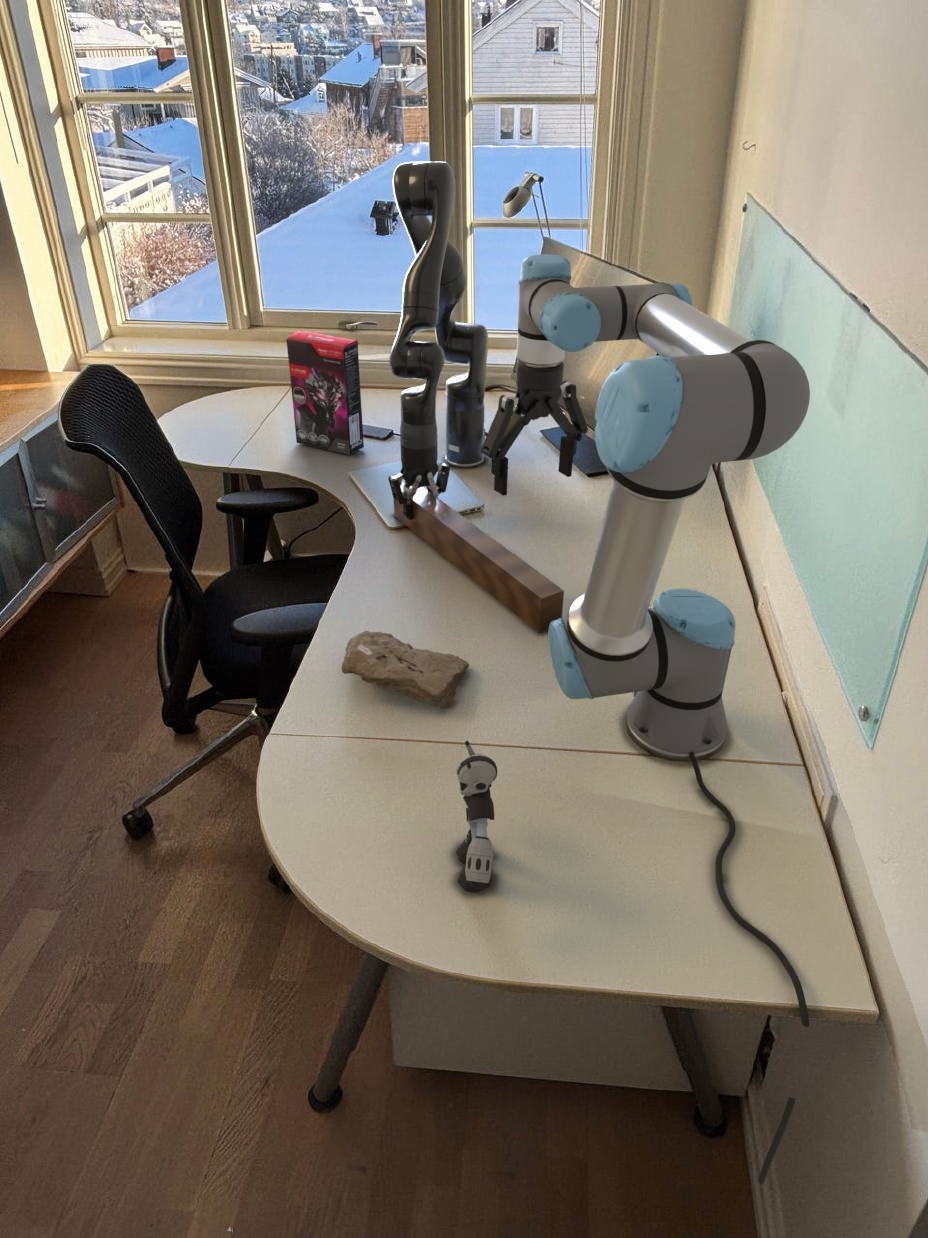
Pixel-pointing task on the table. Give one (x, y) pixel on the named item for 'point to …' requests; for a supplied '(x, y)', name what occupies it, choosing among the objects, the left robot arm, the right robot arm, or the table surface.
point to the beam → (484, 560)
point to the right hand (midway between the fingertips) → (533, 483)
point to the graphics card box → (326, 391)
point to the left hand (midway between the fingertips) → (420, 514)
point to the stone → (404, 667)
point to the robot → (476, 819)
